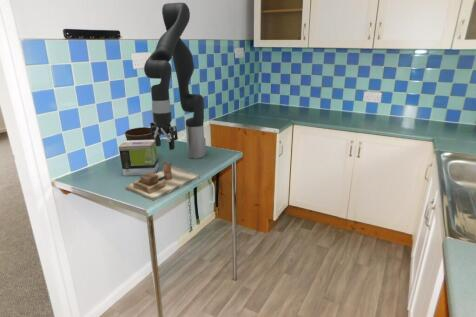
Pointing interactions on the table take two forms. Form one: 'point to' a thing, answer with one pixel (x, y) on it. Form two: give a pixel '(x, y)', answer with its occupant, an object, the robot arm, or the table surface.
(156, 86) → the robot arm
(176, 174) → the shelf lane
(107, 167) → the table surface
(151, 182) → the walnut block
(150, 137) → the plant pot
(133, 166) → the tea box
